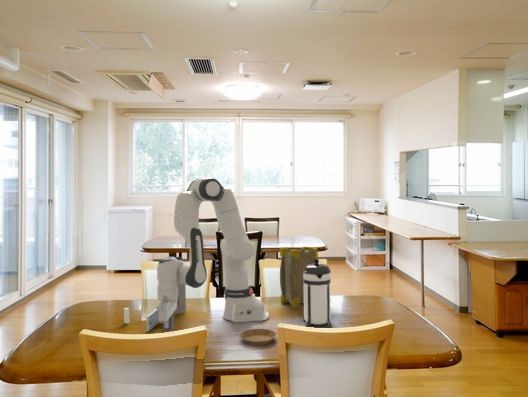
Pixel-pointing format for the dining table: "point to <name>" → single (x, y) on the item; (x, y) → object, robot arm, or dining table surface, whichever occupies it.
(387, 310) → the dining table surface
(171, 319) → the block
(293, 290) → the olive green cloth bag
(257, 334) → the plant saucer
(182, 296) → the thermos bottle
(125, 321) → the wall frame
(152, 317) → the door
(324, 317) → the coffee press
